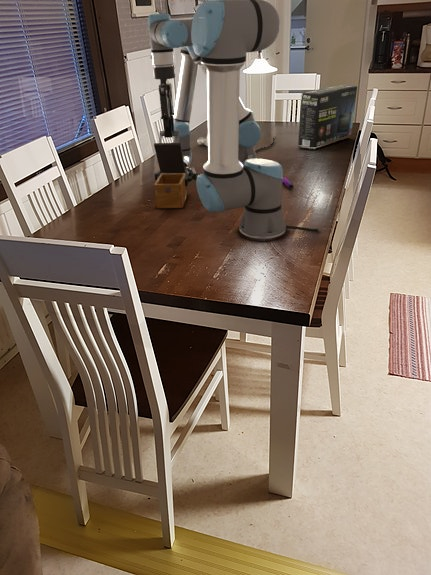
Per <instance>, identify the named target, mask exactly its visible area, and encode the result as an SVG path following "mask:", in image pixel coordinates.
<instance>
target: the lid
mask: <svg viewBox="0 0 431 575" xmlns="http://www.w3.org/2000/svg"><path fill="white" fill-rule="evenodd" d="M173 136H177V142H176V143H173V142H162V139H163V137H165V135H164V130H159V138H158V139H159V140H158V142H154V143H153V147H154V151H155V156H156V160H157V163H158V167H159V170H160V172H161V173H185V166H184V160H183V155H182V149H181V143H179V136H180V131H172V137H173Z"/></svg>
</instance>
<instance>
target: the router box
mask: <svg viewBox="0 0 431 575" xmlns="http://www.w3.org/2000/svg"><path fill="white" fill-rule="evenodd" d="M357 93H358V86H356V85H350V84H339V85H338V84H337V85H334V86H328V87H324V88H318V89H314V90H309V91H304V92H301V93H300V109H299V110H300V111H299V124H298V137H297V146H298V145H302V146H307V147H317V146H320V145H323V144H325V143H328V142H331V141H333V140H336V139H338V138H341V137H344V136H347V135H351V136H352V133H353V132H352V131H353V125H354V115H355V109H356V99H357ZM311 151H313V150H312V149H311Z"/></svg>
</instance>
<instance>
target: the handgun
mask: <svg viewBox="0 0 431 575" xmlns="http://www.w3.org/2000/svg"><path fill="white" fill-rule="evenodd" d="M282 184H284V185H285V186H286V187H288V189H289V190H293V189H294V184H292V183H291V182H290V180H288V179H287V178H286V177H284V176H283V181H282Z"/></svg>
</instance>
